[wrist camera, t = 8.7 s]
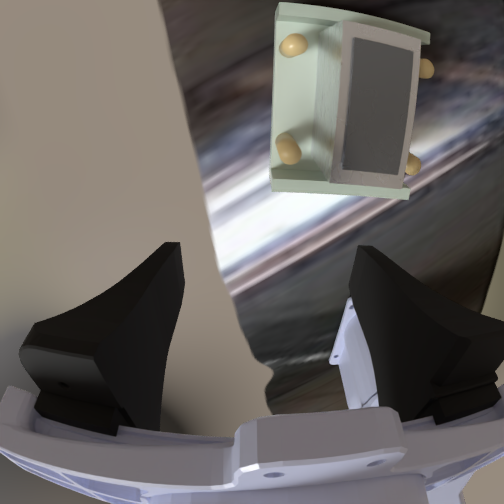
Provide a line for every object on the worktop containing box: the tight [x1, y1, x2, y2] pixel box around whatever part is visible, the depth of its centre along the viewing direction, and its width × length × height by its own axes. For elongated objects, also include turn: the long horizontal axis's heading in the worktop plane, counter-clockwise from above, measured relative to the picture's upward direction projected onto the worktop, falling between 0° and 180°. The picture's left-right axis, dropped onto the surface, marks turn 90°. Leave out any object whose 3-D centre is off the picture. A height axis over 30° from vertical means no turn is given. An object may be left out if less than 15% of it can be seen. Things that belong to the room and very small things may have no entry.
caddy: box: [269, 2, 434, 200], centre depth 16 cm, size 11×9×4 cm
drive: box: [310, 20, 421, 189], centre depth 14 cm, size 8×4×5 cm, turn 178°
